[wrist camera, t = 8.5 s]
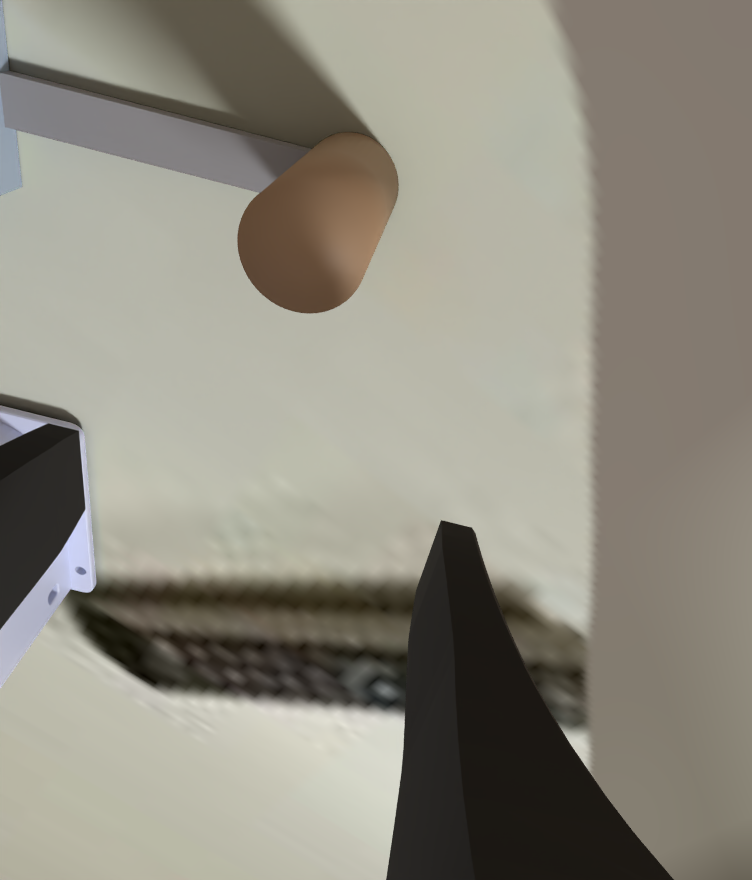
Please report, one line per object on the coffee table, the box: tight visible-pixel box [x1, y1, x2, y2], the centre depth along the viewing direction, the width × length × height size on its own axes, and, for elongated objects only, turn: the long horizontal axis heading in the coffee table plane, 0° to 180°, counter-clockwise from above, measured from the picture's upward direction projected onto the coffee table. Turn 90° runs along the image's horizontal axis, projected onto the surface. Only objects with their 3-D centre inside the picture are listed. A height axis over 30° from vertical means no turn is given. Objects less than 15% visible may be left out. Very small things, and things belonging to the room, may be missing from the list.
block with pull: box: [0, 0, 398, 313], centre depth 16 cm, size 5×16×6 cm, turn 78°
